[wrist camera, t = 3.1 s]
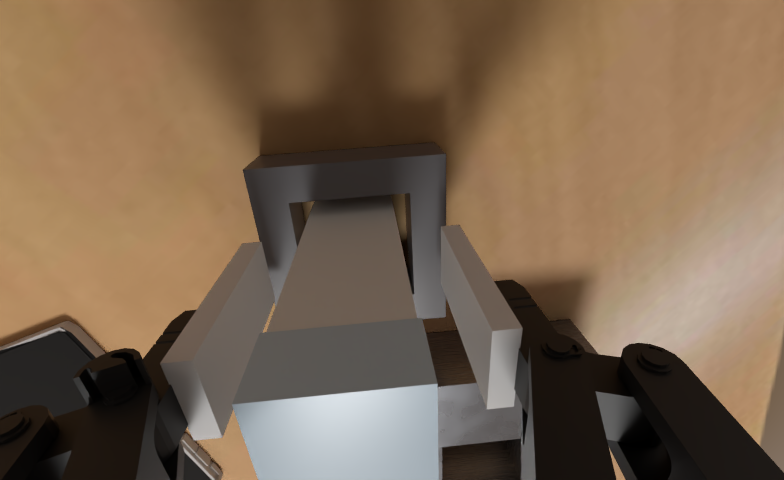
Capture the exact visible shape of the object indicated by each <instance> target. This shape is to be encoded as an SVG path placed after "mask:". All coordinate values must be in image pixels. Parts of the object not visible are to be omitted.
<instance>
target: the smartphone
mask: <svg viewBox="0 0 784 480" xmlns="http://www.w3.org/2000/svg"><path fill="white" fill-rule="evenodd" d="M55 328H56V329H55ZM103 354H106V353H105V352H104V351H103V350H102V349H101V348H100V347H99V346H98V345H97V344H96V343H95V342H94V341H93V340H92V339H91V338H90V337H89V336H88V335H87V334H86V333H85V332H84V331H83V330H82V329H81V328H80V327H79V326H78V325H76V324H74V323H72V322H70V321H64V322H62V323H59V324H57V325H54V326H52V327H49V328H47V329H44V330H42V331H39V332H37V333H34V334H31V335H29V336H26V337H24V338H21V339H19V340H16V341H14V342H11V343H9V344H6V345H4V346H1V347H0V417H2V416H4V415H6V414H9V413H10V412H12V411H15V410H17V409H21V408H24V407H27V406H31V405H42V406H44V407H47V408H48V409H49V411H50V412H51V414H52V415H53V417H56V416H59V415H62V414H65V413H68V412H72V411H75V410H78V409H81V408H84V407H87V406H88V404H87V403H86V401H85V399H84V398H83V396H82V394H81V393H80V391H79V389H78V387H77V386H76V384H75V382H74V381H73V377H74V376H75V374H76V373H77V372H78V370H80V369H81V368H82V367H83V366H84V365H86V364H87V363H88V362H90V361H92V360H93V359H95V358H97V357H99V356H100V355H103ZM180 441H181V443H182V446H183V449H184V453H185V456H184V476H183V480H221V479H222V475H223V473H222V472H221V470H220V469H219V468H218V467H217V466H216V465H215V464H214V462H211V461H210V460H211V458H210V457H209V456H208V455H207V454H206V453H205V452H204V451H203V450H202V449H201V448H200V447H198V445H197V444H196V442H195V441H194V440H193V439H192V438H191V437H190V436H189V435H188V434H187V433H185V434H183V436H182V438H181V440H180Z"/></svg>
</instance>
